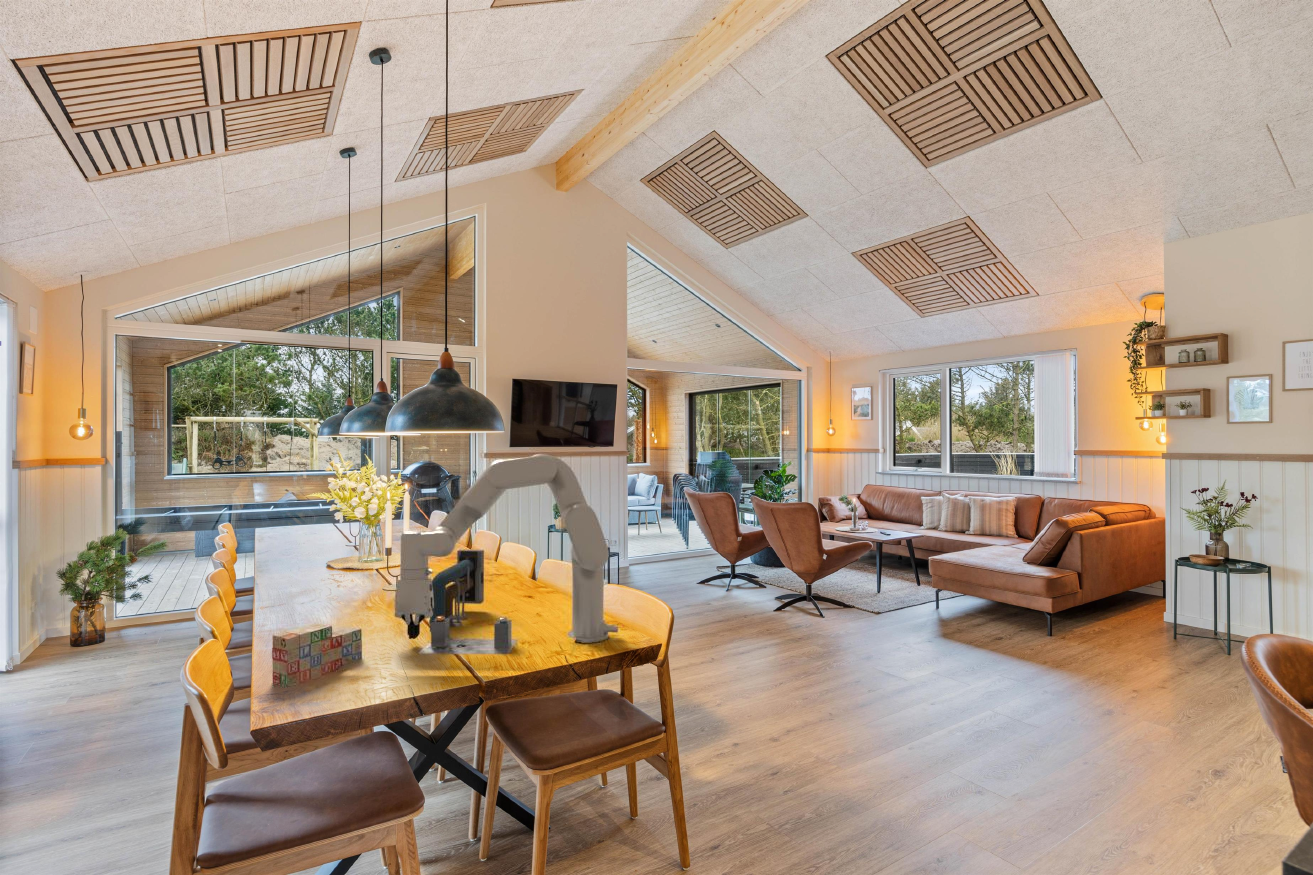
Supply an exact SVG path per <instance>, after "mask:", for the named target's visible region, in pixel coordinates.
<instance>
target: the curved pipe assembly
mask: <svg viewBox="0 0 1313 875" xmlns="http://www.w3.org/2000/svg"><path fill="white" fill-rule="evenodd" d="M456 560H457V561H456V563H455V564H454V565H452V566H450V567H448V568H446V569H443V570H441V571H439V572H438V573H437V574H436V575H435V576H433V578H432V579H431V580H432V586H433V595H434V608H433V609H432V612H433V616H432V617H430V618H429V620H428V623H429V632H430V633H431V622H432V621H433V620H435V619H436V617H437V616H445V619H450V627H451V628H452V627H453V628H455V627H459V628H460V627H461V626H462V625H463V623H462V621H465V620H466V619H467V618H468V615H467V614H465V604H468V605H469V604H471V605H472V604H473V605H474V604H475V605H481V604H483V603H484V602H485V600H484V599H485V598H484V597H485V596H484V595H485V591H484V589H485V585H484V584H485V583H484V582H485V580H484V579H485V562H484V561H485V551H484V549H459V550H457V552H456ZM447 585H448V586H447ZM460 604H462V605H460ZM460 606H461V607H460ZM460 609H461V610H460ZM460 612H461V614H460ZM462 627H463V626H462ZM462 627H461V628H462Z"/></svg>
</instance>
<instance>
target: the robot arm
mask: <svg viewBox="0 0 1313 875" xmlns="http://www.w3.org/2000/svg"><path fill="white" fill-rule="evenodd" d="M546 484H547V485H548V487H549V488H550V491H551V492H552V493H551V494H552V495H553V498H554V500H555V503H556V506H557V509H558V511H559V515H560V519H561V522H562V525H563V526H564V528H565V529H566V532H567V534H568V537H569V539H570V542H571V543H570V544H571V551H570V553H571V566H572V567H571V571H572V573H571V574H572V586H571V588H572V592H571V593H572V594H571V595H572V597H571V598H572V602H571V603H572V604H571V606H572V609H571V610H572V615H571V616H572V618H571V620H572V621H571V622H572V625H571V626H572V630H570V631H568V632H567V637H568V638H571V639H575V640H574V642H575V643H579V642H581V644H590V643H593V642H594V643H599V641H600V642H604V641H605V640H608V638H609V633H615V634H617V633H619V626H618V625H615V624H607V623H606V620H605V619H604V588H605V587H604V585H605V584H604V583H605V582H604V581H605V580H604V579H605V577H604V566H605V565H606V564H607V561H608V560H609V556H610V553H609V547H608V545H607V541H606V538H605V535H604V533H603V530H602V528H601V524H600V521H599V519H598V516H597V515H596V512H595V510H594V509H593V508H592V507H591V506H590V505H589V504H588V502H587V501H586V498H585V496H584V492H583V491H582V487H581V486H580V484H579V480H578V477H577V476H576V474H575V472H574V471H573V469H572V468H571V466H569V465H568V463H567V462H565V461H563V460H562V459H560V458H559V457H557V456H553V455H550V454H545V453H537V454H534V455H532V456H526V457H519V458H510V459H504V458H499V459H495V460H493V461H492V462H491V463H490V464H489V465H488V466H487V467H486V469H484V471H483V472H482V473H481V474H480V475H479V476H478V478H477V479H476V480H475V481H474V482H473V483H472V485H470V487H469V488H468V489H467V490H466V492H464V494H463V495H462V496H461V498H460V499H459V501H458V502H457V503H456V505H455V506H454V507H453V508H452V509H451V511H450V512H449V513H448V514H447V515H446V516H445V518H443V520H442V521H441V522H440V523H439V524H438V525H437V527H436V528H435V529H434V530H433V531H431V532H427V530H422V529H410V530H404V531H403V532H402V533H401V535H400V569H399V570H400V572H399V573H400V576H399V578H398V579H397V583H396V587H395V588H396V589H395V592H394V593H395V594H394V614H393V615H394V617H395V618H399V619H402V620H403V622H405V625H407V627H406V628H407V632H406V633H407V636H408V639H409V640H411V639H412V640H415V639H417V638H418V637H419V635H420V633H421V630H420V629H421V622H422V621H424V619H430V617H432V616H433V612H432V609H433V608H434V595H433V586H432V580H433V579H432V577H431V576H430V575H433V573H434V570H433V569H430V568H429V567H430V566H429V557H436V558H443V557H444V558H445V557H447V556H449V555H451V554H452V553H453V552H454V550H455V548H456V544H457V543H458V542H459V541H460V539H462V537H463V536H464V534H466V532H467V531H468V530H469V529H470V528H471V527H472V526H473V525H474V523H476V522H477V521H479V520H480V519H481V518H483V517H484V516H485V515H487V513H488V512H489V510H490V509H491V508H492V507H493V506H494V505H495V504H496V502H497V501H498V500H499V499H500V498H501V496H502V495H504V493H505V492H506V491H507V490H510V489H520V488H526V487H534V486H539V485H540V486H541V485H546ZM429 576H430V577H429ZM594 643H593V644H594Z"/></svg>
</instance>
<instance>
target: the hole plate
mask: <svg viewBox="0 0 1313 875" xmlns="http://www.w3.org/2000/svg"><path fill="white" fill-rule="evenodd" d="M518 641H519V638H511V645H510V647H509V648H494V638H450V640H449V644H448V645H447V646H446V647H431V641H430V642H429V643H428V644H427V645H425V646H424V647H423V648H422V649H421V650H420V651H419V652H418V653H417V654H419V655H429V654H431V655H509V653H510V652H511V651H512V649H513V648H514V646H515V645H516V644H517V642H518Z"/></svg>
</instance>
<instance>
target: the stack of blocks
mask: <svg viewBox="0 0 1313 875" xmlns="http://www.w3.org/2000/svg"><path fill="white" fill-rule="evenodd" d="M362 647H363V640H362V628H359V627H355V626H347V625H345V626H342V627H339V628H334V629H333V625H329V624H325V623H319V622H315V623H312V624H308V625H304V626H300V627H297V628H294V629H290V630H287V631H283V632H282V631H281V632H278V633H276V634H275V633H274V634H272V647H271V659H272V683H273V684H274V683H277V684H276V685H278V684H281V685H280V686H282V685H284V686H283V687H285V686H287V687H286V688H289V687H288V686H290V687H292V685H293V686H295V684H296V685H299V684H302V683H305V682H308V681H311V680H314V679H317V678H320V677H322V676H325V675H329V674H331V673H334V672H337V671H340V670H339V669H341V668H342V667H344V666H345V665H346V664H348V663H351V662H353V661H357V660H359V659H362V658H363V655H362V654H363V648H362ZM336 670H337V671H336Z"/></svg>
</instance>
